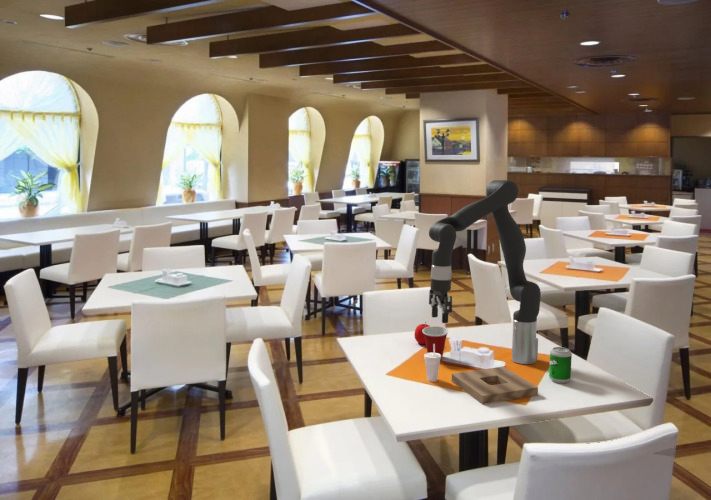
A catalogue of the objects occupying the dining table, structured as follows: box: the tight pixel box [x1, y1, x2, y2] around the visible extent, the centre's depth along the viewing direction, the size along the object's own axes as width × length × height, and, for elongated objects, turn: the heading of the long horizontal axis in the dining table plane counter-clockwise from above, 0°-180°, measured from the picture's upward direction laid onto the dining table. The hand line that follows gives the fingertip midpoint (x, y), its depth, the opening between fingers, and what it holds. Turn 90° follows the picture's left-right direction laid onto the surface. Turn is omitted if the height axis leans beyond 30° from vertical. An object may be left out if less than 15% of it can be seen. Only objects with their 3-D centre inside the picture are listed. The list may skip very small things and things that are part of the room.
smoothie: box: [423, 344, 442, 383], centre depth 222 cm, size 6×6×14 cm
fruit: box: [414, 321, 431, 346], centre depth 266 cm, size 9×9×10 cm
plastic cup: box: [422, 325, 449, 359], centre depth 247 cm, size 11×11×12 cm
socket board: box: [451, 366, 539, 405], centre depth 215 cm, size 22×22×3 cm
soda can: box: [548, 346, 573, 384], centre depth 221 cm, size 8×8×12 cm
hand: (439, 319), depth 222 cm, fingers open, 8 cm apart
